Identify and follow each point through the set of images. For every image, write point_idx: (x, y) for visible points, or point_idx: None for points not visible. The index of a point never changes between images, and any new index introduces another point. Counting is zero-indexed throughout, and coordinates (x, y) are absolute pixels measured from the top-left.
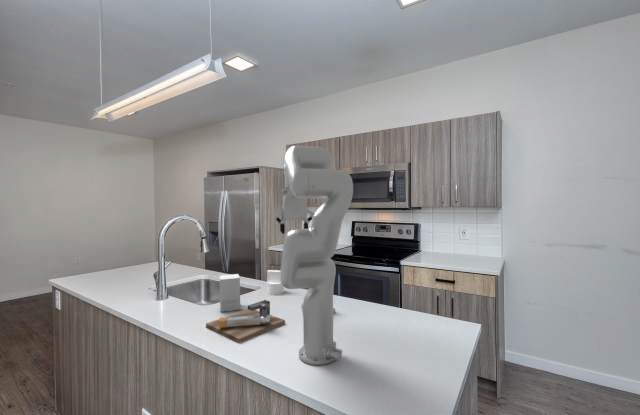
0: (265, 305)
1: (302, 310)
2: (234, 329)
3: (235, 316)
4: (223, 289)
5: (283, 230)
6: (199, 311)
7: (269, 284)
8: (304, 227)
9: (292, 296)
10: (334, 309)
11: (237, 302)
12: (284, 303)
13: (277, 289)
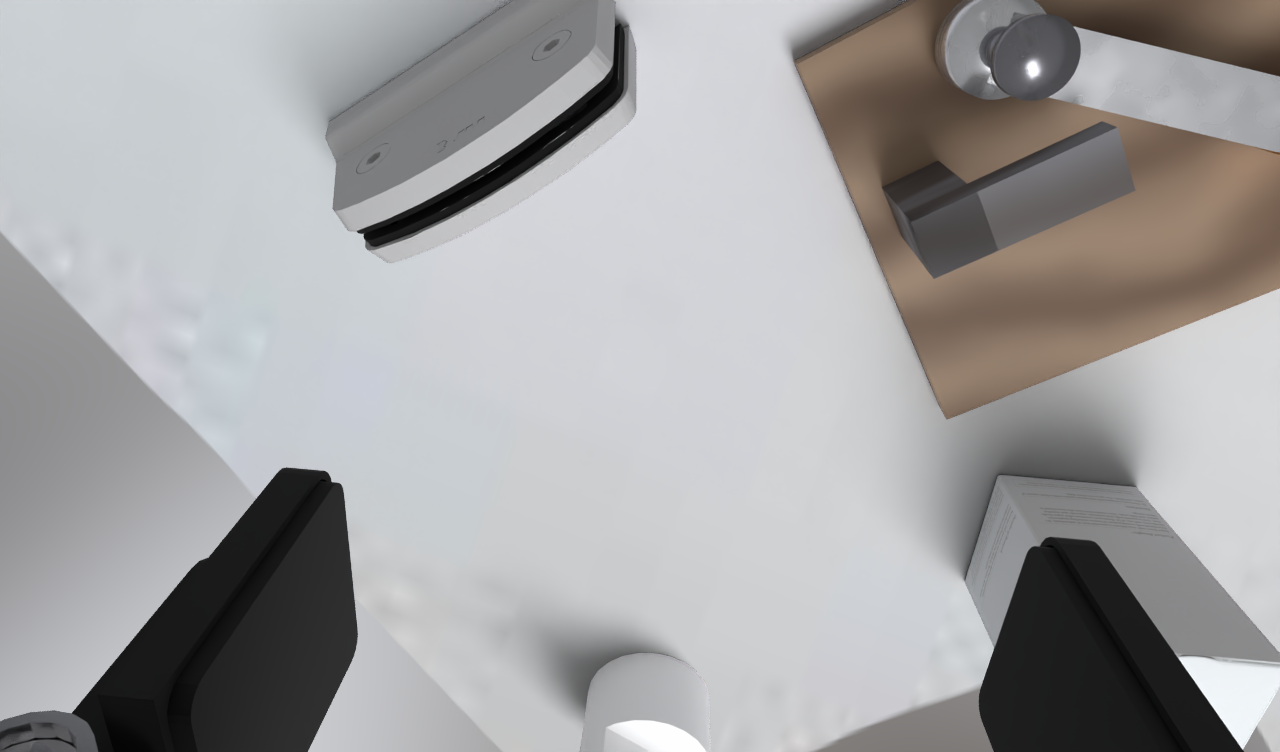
0: (1042, 24)
1: (634, 86)
2: (1228, 37)
3: (1113, 307)
4: (1205, 594)
5: (1118, 602)
6: (1258, 555)
7: (702, 739)
8: (285, 680)
9: (554, 584)
10: (331, 131)
11: (1039, 508)
12: (656, 473)
13: (646, 684)
